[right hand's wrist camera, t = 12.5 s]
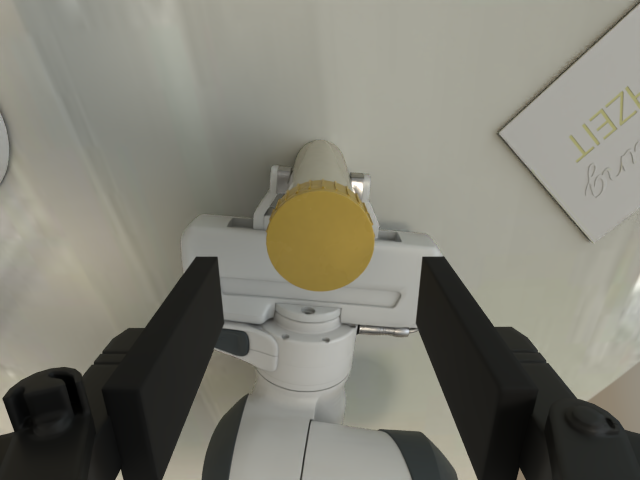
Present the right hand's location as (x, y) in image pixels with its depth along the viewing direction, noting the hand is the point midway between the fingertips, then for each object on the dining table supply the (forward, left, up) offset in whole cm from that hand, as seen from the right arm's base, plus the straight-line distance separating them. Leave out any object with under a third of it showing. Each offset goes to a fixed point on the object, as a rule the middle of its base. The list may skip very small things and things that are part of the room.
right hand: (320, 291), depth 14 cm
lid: (0, 0, -5) cm, 5 cm away
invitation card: (+18, +22, -24) cm, 37 cm away
